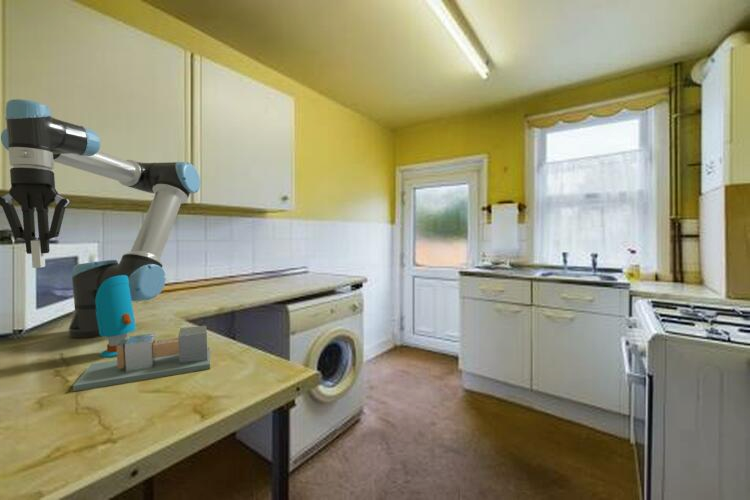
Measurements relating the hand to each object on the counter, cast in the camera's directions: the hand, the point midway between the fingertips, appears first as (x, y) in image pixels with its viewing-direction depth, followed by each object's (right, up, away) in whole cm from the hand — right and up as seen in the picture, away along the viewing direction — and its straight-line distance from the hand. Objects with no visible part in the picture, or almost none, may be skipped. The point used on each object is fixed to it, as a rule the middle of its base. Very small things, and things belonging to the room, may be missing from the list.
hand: (39, 267), depth 84 cm
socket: (+36, -23, +3) cm, 43 cm away
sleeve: (+26, -23, -2) cm, 35 cm away
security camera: (+11, -24, +10) cm, 28 cm away
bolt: (+29, -22, -1) cm, 37 cm away
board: (+28, -24, -1) cm, 37 cm away
